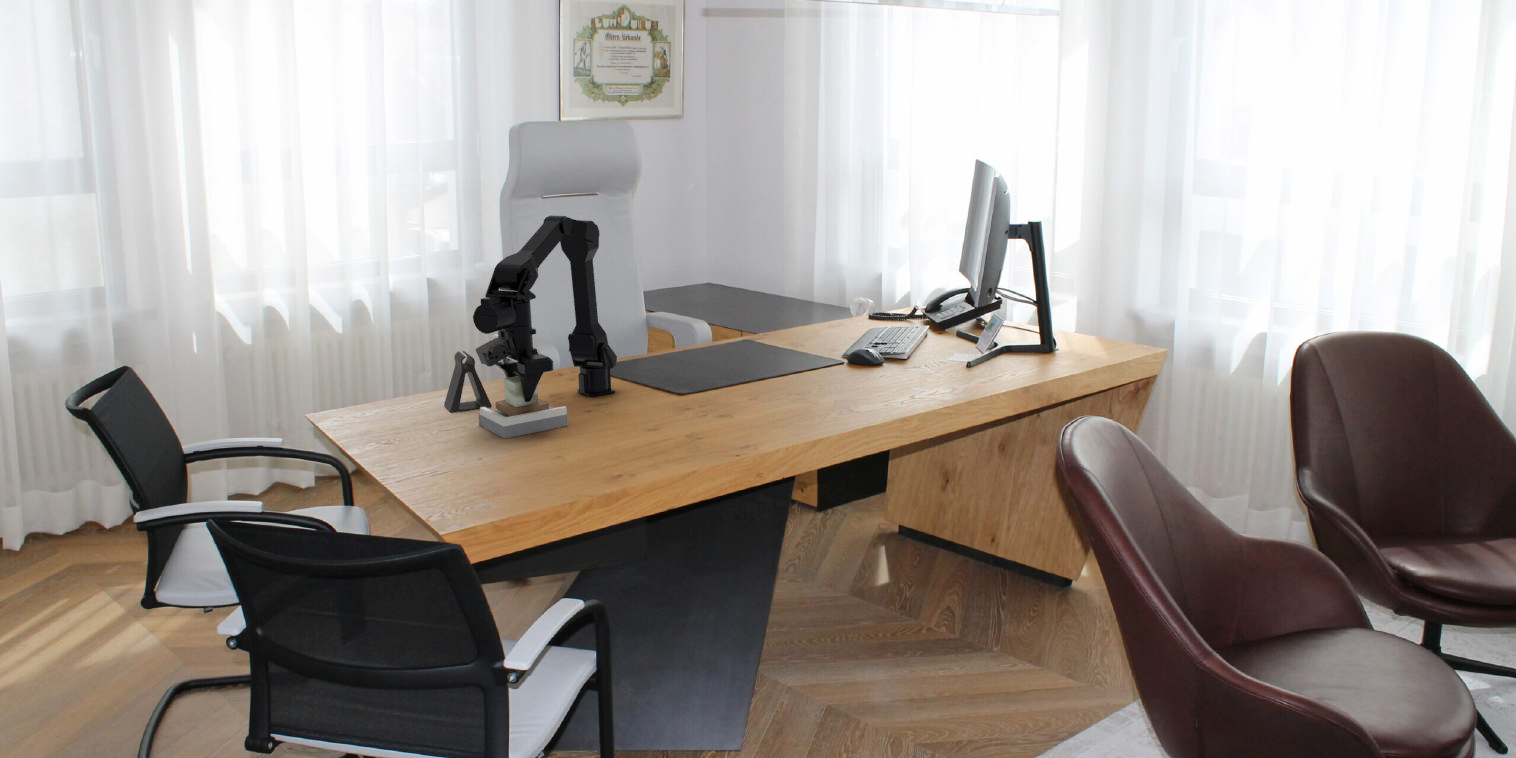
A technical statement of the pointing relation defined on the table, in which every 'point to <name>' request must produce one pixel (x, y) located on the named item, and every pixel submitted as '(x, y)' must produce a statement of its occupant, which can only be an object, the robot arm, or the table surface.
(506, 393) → the cube on wooden base
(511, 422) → the dock
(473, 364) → the phone stand
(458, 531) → the table surface
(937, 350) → the table surface
